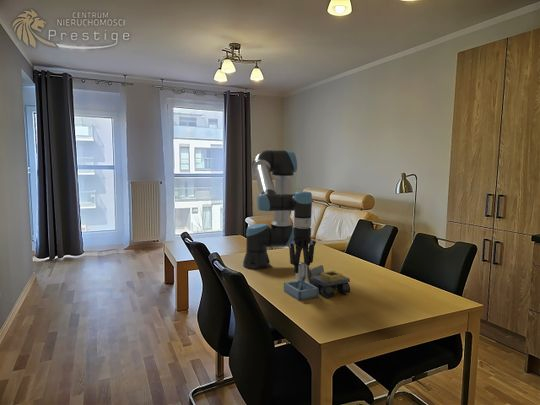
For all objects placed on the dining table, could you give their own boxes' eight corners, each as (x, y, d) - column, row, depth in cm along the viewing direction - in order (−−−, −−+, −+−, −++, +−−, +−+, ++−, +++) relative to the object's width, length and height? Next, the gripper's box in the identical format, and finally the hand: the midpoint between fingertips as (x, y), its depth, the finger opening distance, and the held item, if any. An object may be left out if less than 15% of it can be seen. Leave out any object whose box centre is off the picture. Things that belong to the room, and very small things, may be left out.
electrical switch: (315, 289, 168) (314, 269, 167) (306, 287, 171) (305, 268, 171) (326, 284, 175) (325, 265, 174) (318, 282, 178) (317, 264, 178)
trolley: (308, 290, 166) (309, 271, 165) (332, 285, 173) (333, 267, 172) (326, 300, 154) (327, 279, 153) (351, 294, 161) (352, 275, 160)
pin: (296, 289, 161) (297, 262, 160) (302, 288, 163) (302, 261, 161) (300, 291, 158) (300, 264, 157) (305, 290, 160) (306, 263, 159)
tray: (283, 291, 164) (283, 282, 164) (302, 288, 169) (302, 279, 168) (299, 301, 153) (299, 291, 152) (318, 297, 158) (318, 288, 157)
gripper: (291, 229, 150) (290, 284, 153) (322, 227, 158) (321, 279, 161) (282, 226, 157) (281, 279, 160) (312, 224, 165) (311, 274, 167)
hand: (301, 279), depth 160 cm, fingers closed on pin, 3 cm apart
